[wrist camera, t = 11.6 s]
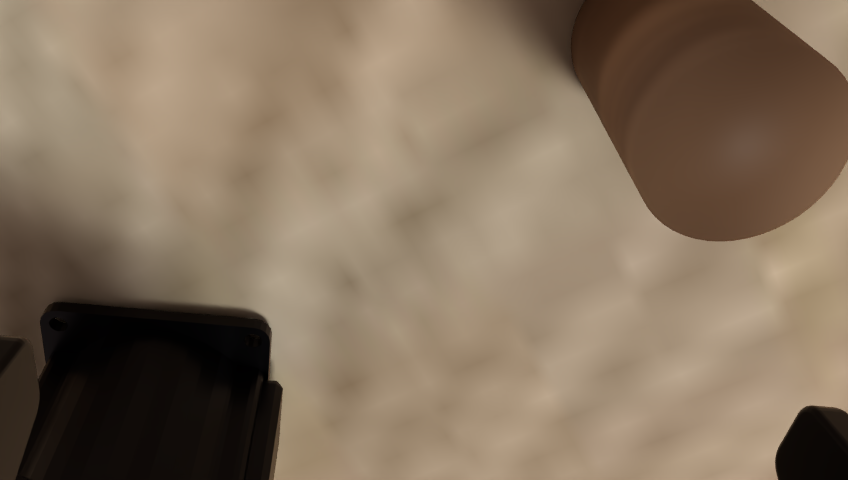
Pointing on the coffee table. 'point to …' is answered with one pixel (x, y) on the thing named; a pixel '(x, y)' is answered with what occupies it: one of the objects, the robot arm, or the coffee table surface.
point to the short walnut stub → (713, 111)
